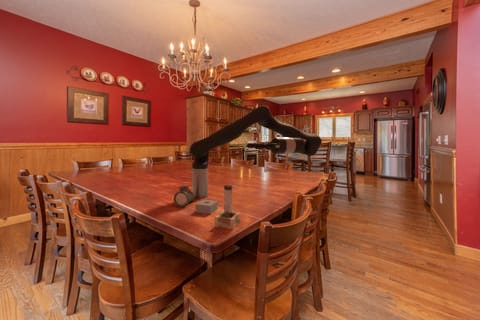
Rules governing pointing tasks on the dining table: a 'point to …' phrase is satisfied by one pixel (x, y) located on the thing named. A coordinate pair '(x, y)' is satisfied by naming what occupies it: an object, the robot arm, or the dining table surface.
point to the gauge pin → (228, 201)
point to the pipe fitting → (183, 196)
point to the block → (206, 206)
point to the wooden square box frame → (227, 220)
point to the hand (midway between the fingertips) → (251, 146)
